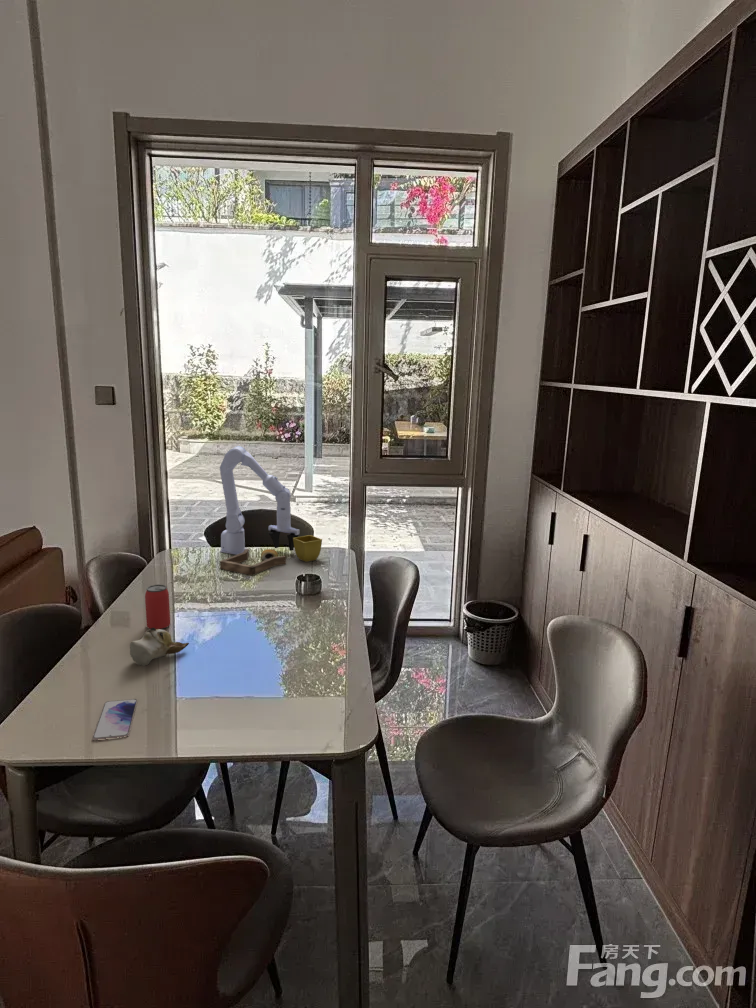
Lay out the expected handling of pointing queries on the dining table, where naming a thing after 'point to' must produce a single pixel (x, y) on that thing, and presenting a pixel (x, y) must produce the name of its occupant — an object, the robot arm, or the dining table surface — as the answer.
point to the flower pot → (307, 547)
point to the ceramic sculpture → (154, 646)
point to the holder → (235, 565)
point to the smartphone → (115, 719)
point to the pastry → (268, 554)
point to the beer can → (157, 607)
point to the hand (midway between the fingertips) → (284, 548)
